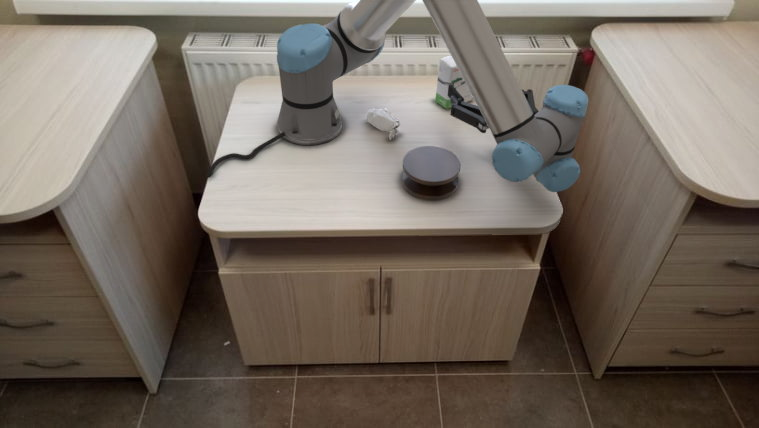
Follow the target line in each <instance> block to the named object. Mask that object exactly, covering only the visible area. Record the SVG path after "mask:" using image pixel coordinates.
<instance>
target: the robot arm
mask: <svg viewBox="0 0 759 428" xmlns="http://www.w3.org/2000/svg"><path fill="white" fill-rule="evenodd" d="M416 1H417V0H358V1H357V2H349V3H347V4H346V5H345V6H344V7H342V9H341V10H340V12H339V13H338V14H337V15H336V17H335V18H334V19H333V20H332V21H330V22H329V23H327V24H324V25H321V24H318V23H305V24H297V25H294V26H291V27H290V28H287V29H286V30H285V31H283V32H282V34H281V35H280V36H279V38H278V40H277V42H276V62H277V66H278V71H279V72H278V73H279V81H280V90H281V97H282V100H281V101H282V102H281V105H280V108H279V114H278V117H277V129H278V133H279V134H277V135H275V136H273V137H272V138H270V139H268V140H266V141H265V142H263V143H261V144H260V145H258V146H257V147H255V148H254V149H253V150H252V151H251V152H250V153H249V154H241V153H234V152H233V153H229V154H225V155H223V156H220V157H218V158H217V159H216V160H214V162H213V163H212V164H211V165H210V167H209V169H208V170H207V172H206V174H205V179H208V178H209V179H210V178H211V176H212V174H213V173H214V171H215V169H216V168H217V167H218V166H219V165H220V164H221V163H222V162H224V161H226V160H229V159H234V158H236V159H240V160H250V159H252V158H254V157H255V156H256V154H257V153H258V152H260V151H261V150H263V149H264V148H266V147H268V146H270V145H272V144H273V143H275V142H277V141H279V140H281V139H282V138H283V139H284V140H286V141H288V142H290V143H292V144H296V145H300V146H315V145H321V144H325V143H327V142H330V141H333V140H334V139H335V138H336V137H338V135H339V134H340V133H341V131H342V129H343V117H342V114H341V111H340V109H339V106H338V105H337V102H336V100H335V98H334V85H333V83H334V81H336V80H338V79H339V78H341V77H343V76H345V75H347V74H348V73H350V72H353V71H355V70H356V69H358V68H360V67H362V66H364V65H366V64H369V63H371V62H372V61H373V60H375V59H376V58H377V57H378V56H379V55H380V54H381V53H382V51H383V49H384V46H385V42H386V38H387V32H388V30H389V29H390V28H391V27H392V26H393V25H394V24H395V23H396V21H398V19H400V17H402V16H403V14H404V13H405V12H406V11H408V9H409V8H410V7H411V6H412V5H413V4H414V3H415V2H416ZM422 2H423V4H424V7H425V8H426V10H427V12H428V14H429V16H430V18H431V20H432V21H433V24H434V26H435V27H436V29H437V31H438V33H439V35H440V37H441V38H442V40H443V43H444V45H445V46H446V48H447V50H448V52H449V54H450V56H452V58H453V60H454V62H455V64H456V65H457V67H458V69H459V71H460V73H461V75H462V77H463V79H464V81H465V83H466V85H467V86H468V88H469V90H470V92H471V94H472V98H473V101H474V102H475V104H473V103H469V102H464V98H463V97H462V96H461V95H460V94H459V92H458V91H457V90H456V89H455V88H454V87H453V86H452V85H449V87H448V95H447V96H448V97H449V98H450V103H451V104H452V105H451V108H450V112H449V113H450V114H449V115H450V116H451V117H453V118H455V119H457V120H459V121H461V122H463V123H465V124H467V125H469V126H471V127H473V128H475V129H476V130H477V131H479V132H480V133H481V134H486V133H487V130H488V129H489V130H490V132H491V134H492V137H493V139H494V141H495V143H496V145H495V147H494V149H493V151H492V153H491V157H492V158H491V159H492V163H491V164H492V166H493V169H494V170H495V172H496V173H497V174H498V175H499V176H500V177H501V178H503V179H505V180H506V181H509V182H512V183H520V182H521V183H522V182H523V181H525V180H528V179H529V178H530V177H531V176H533V177H534V178H535V180H536V182H538V183H539V184H540V185H541V186H543V187H544V189H546V190H547V191H548V192H551V193H558V192H563V191H565V190H567V189H569V188H570V187H572V186H573V185H574V184H575V183H576V182H577V180H578V179H579V177H580V174H581V168H580V164H579V163H578V162H577V159H575V158H574V157H573V154H574V151H575V148H576V145H577V144H576V143H577V140H578V137H579V135H580V131H581V129H582V126H583V123H584V119H585V117H587V110H588V105H589V97H588V95H587V93H586V92H585V91H584V90H582V89H581V88H578V87H576V86H573V85H569V84H557V85H554V86H551V87H550V88H549V89H548V90H547V91H546V94H545V97H544V99H543V100H542V107H541V109H540V110H538V108H537V107H536V103H535V98H534V91H533V89H531V88H529V89H526V90H524V89H522V87H521V85H520V83H519V82H518V79H517V77H516V76H515V73H514V71H513V70H512V67H511V65H510V63H509V61H508V59H507V57H506V55H505V53H504V52H503V49H502V47H501V45H500V42H499V41H498V39H497V37H496V35H495V33H494V31H493V29H492V26H491V25H490V23H489V21H488V18H487V16H486V14H485V13H484V11H483V9H482V7H481V5H480V3H479V1H478V0H422Z"/></svg>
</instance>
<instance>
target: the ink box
mask: <svg viewBox="0 0 759 428" xmlns="http://www.w3.org/2000/svg"><path fill="white" fill-rule="evenodd" d="M449 85H452V86H453V87H454V88H455V89H456V90H457V91H458V92H459V94H460V95H461V96H462V97H463V98H464V102H466V103H469V102H471V101H472V98H473V96H472V94H471V92H470V90H469V88H468V86H467V85H466V83H465V81H464V79H463V77H462V75H461V73H460V71H459V69H458V67H457V65H456V64H455V62H454V60H453V58H452V56H451V55H447V56H443V57H441V58H440V59H439V65H438V73H437V82H436V89H435V98H434V100H435V102H436V104H439V105H440V106H441V107H443V108H444V109H446V110H448V109H451V105H452V104H451V103H450V98H449V97H448V96H447V95H448V87H449Z"/></svg>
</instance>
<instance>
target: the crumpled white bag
mask: <svg viewBox="0 0 759 428" xmlns="http://www.w3.org/2000/svg"><path fill="white" fill-rule="evenodd" d="M364 122H366V123H368V124H369V125H372V126H373V127H374V128H376V129H378V130H379V131H381V132H384V131H386V132H389V135H388V140H389V141H391V140H392V139H394V137H395V135H396V136H397V137H398V136H399V130H398V128H399V127H400V126H401V123H400V120H399V119H398V118H395V117H394V115H392V113H391V111H390V110H389V109H388V108H386V107H382V108H377V107H376V108H369V109H368V111H367V114H366V119H365V121H364Z"/></svg>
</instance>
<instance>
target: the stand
mask: <svg viewBox="0 0 759 428" xmlns="http://www.w3.org/2000/svg"><path fill="white" fill-rule="evenodd" d="M460 161H461V160H460V159H459V158H458V157H457V155H456V154H454V153H453V152H452V151H451V150H448V149H446V148H444V147H440V146H435V145H423V146H418V147H415V148H413V149H410V150H409V151H408V152H407V153H406V154H405V155H404V157H403V159H402V171H403V172H402V173H401V185H402V187H403V189H404V191H405V192H406V193H407V194H409V195H410V196H412V197H413V198H415V199H419V200H422V201H426V202H427V201H428V202H435V201H436V202H437V201H441V200H445V199H448V198H449V197H451V196H452V195H454V194H455V192H456V191H457V190H458V186H459V185H458V184H459V175H460V172H461V162H460Z"/></svg>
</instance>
